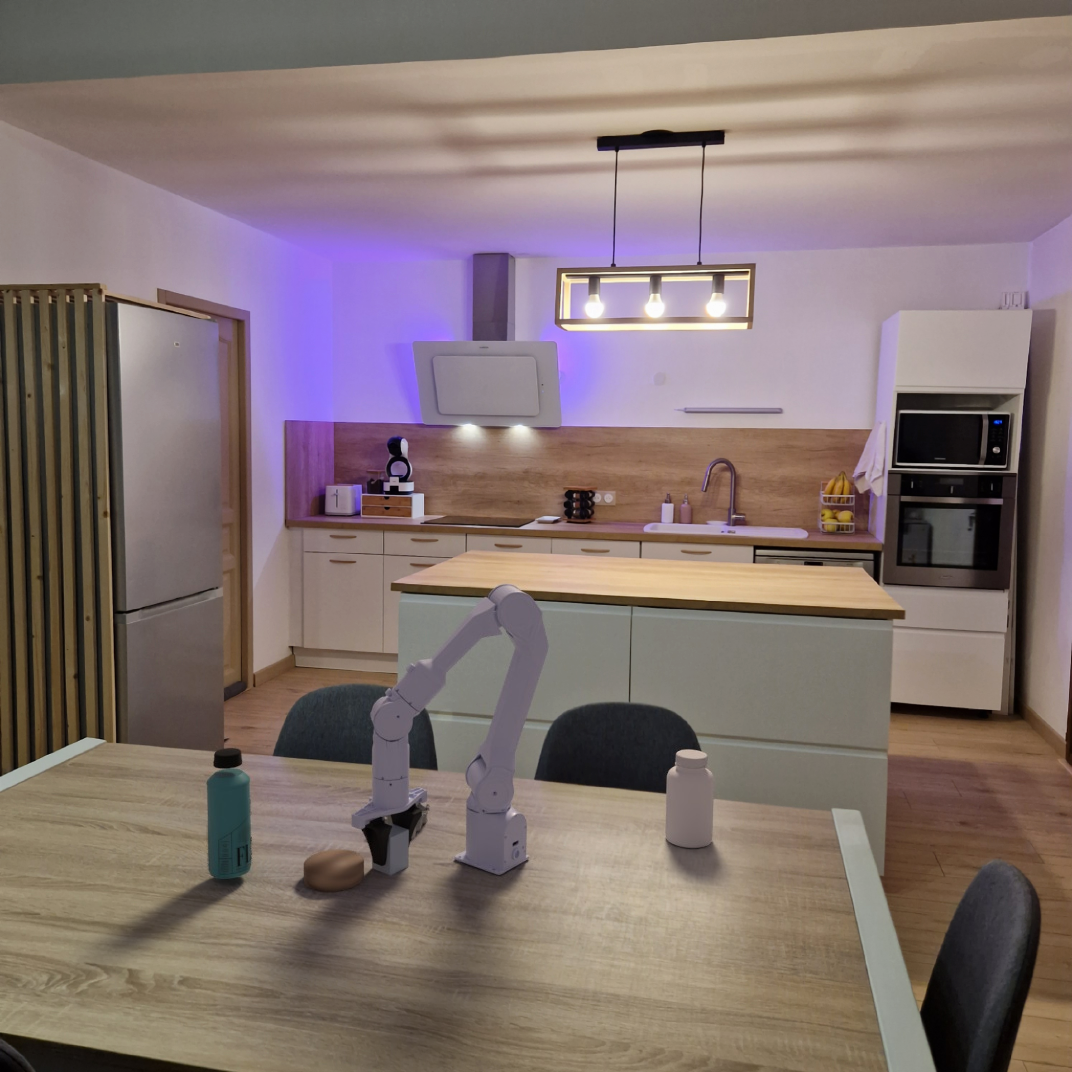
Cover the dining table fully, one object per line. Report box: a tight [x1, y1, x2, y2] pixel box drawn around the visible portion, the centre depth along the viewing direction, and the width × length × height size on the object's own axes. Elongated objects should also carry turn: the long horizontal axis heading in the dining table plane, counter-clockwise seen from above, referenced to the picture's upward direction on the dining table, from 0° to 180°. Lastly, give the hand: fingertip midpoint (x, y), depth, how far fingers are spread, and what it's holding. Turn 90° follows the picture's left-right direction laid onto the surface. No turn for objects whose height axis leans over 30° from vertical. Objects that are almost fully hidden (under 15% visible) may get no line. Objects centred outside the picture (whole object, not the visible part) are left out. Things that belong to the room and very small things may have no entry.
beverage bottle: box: [205, 747, 253, 880], centre depth 140 cm, size 6×7×20 cm
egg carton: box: [383, 802, 431, 840], centre depth 161 cm, size 11×8×4 cm
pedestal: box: [303, 849, 365, 893], centre depth 142 cm, size 9×9×2 cm
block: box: [371, 823, 410, 876], centre depth 146 cm, size 4×4×6 cm
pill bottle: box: [664, 749, 715, 849], centre depth 158 cm, size 8×8×15 cm
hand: (390, 858), depth 146 cm, fingers open, 4 cm apart
